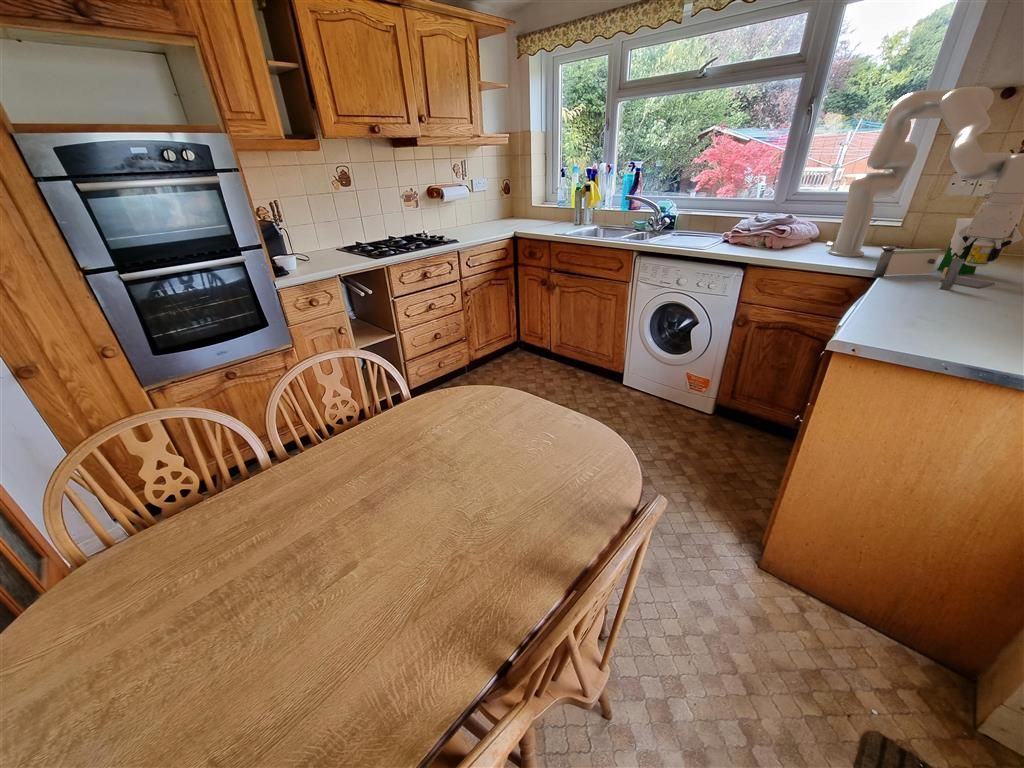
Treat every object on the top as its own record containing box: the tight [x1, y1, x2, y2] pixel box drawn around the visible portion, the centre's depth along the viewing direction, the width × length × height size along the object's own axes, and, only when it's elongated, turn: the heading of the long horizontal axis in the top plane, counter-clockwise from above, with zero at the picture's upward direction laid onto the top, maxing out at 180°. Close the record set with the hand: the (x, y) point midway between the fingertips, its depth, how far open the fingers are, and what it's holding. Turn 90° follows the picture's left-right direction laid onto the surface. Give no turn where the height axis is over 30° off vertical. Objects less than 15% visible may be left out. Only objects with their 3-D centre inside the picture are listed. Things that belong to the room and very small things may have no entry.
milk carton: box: [936, 217, 979, 275], centre depth 151 cm, size 9×9×20 cm
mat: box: [940, 275, 996, 289], centre depth 143 cm, size 10×10×1 cm
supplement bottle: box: [965, 238, 996, 268], centre depth 138 cm, size 5×5×10 cm
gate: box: [884, 248, 943, 276], centre depth 151 cm, size 16×2×8 cm, turn 89°
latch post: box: [939, 258, 964, 291], centre depth 136 cm, size 3×3×10 cm
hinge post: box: [873, 245, 897, 278], centre depth 152 cm, size 4×4×10 cm
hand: (978, 258), depth 140 cm, fingers closed on supplement bottle, 5 cm apart
